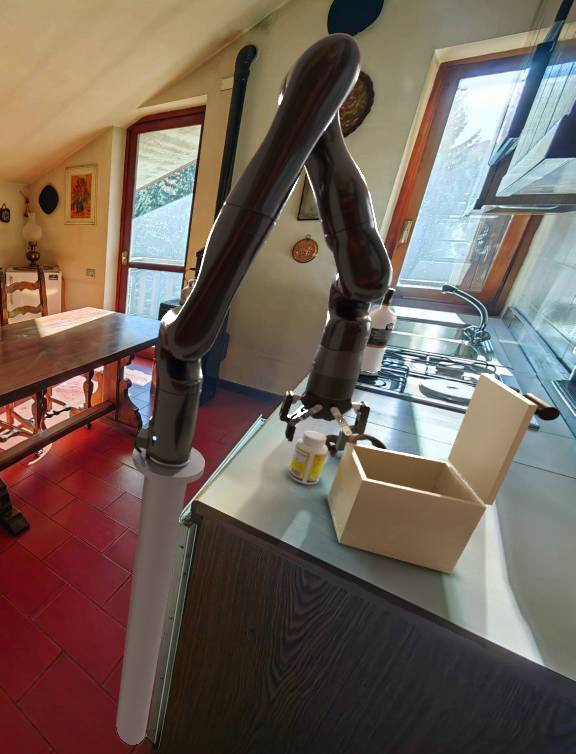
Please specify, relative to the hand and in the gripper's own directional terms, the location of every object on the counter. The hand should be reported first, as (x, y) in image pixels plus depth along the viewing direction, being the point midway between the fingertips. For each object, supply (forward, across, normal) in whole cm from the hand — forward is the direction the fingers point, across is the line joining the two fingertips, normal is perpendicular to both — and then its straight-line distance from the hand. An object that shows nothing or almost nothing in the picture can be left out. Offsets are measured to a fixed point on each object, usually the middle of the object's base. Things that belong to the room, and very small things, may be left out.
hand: (313, 444), depth 79 cm
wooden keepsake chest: (+8, -11, +12) cm, 18 cm away
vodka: (+9, -27, -84) cm, 88 cm away
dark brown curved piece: (+8, -10, -11) cm, 17 cm away
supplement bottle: (+8, 0, 0) cm, 8 cm away
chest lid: (-13, -17, +12) cm, 25 cm away
